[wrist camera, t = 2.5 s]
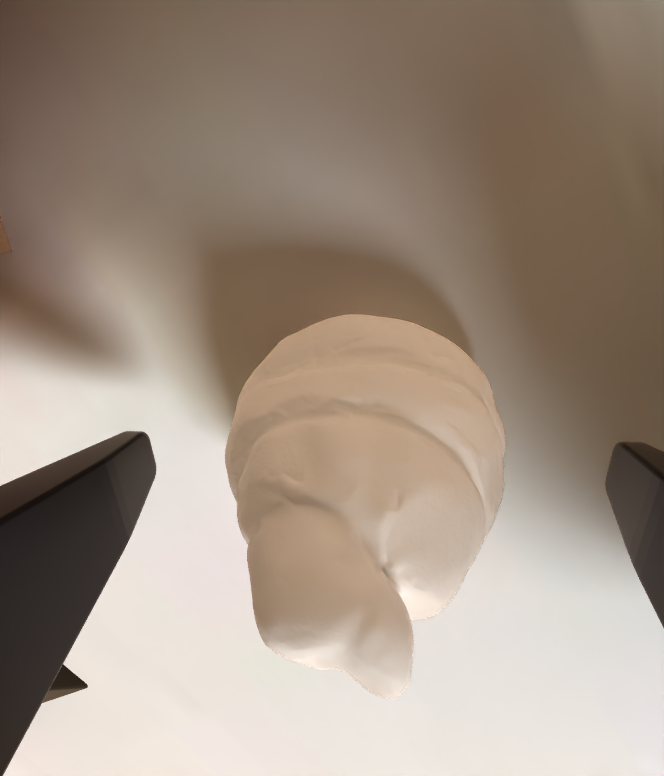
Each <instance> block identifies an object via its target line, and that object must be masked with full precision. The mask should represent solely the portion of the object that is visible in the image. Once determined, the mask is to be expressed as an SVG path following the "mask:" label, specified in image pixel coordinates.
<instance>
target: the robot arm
mask: <svg viewBox="0 0 664 776" xmlns="http://www.w3.org/2000/svg"><path fill="white" fill-rule="evenodd" d="M155 475H156V463H155V459H154V455H153V451H152V447H151V443H150V439H149V436H148V435H147V434H146V433H145V432H141V431H126V432H123V433H120V434H118V435H116V436H113V437H111V438H109V439H107V440H104V441H102V442H100V443H97V444H95V445H93V446H91V447H88V448H86V449H84V450H81V451H79V452H77V453H75V454H72V455H70V456H68V457H65V458H63V459H61V460H58V461H56V462H54V463H52V464H49V465H47V466H45V467H42V468H40V469H38V470H36V471H33V472H31V473H29V474H26V475H24V476H22V477H20V478H17V479H15V480H13V481H10V482H8V483H6V484H4V485H1V486H0V776H3V774H4V773H5V771H6V769H7V767H8V765H9V763H10V761H11V760H12V758H13V756H14V754H15V752H16V750H17V748H18V747H19V745H20V743H21V741H22V739H23V737H24V735H25V734H26V732H27V730H28V728H29V726H30V724H31V722H32V720H33V719H34V717H35V715H36V713H37V711H38V709H39V707H40V706H41V704H42V702H43V700H44V698H45V696H46V694H47V693H48V691H49V689H50V687H51V685H52V683H53V681H54V680H55V678H56V676H57V674H58V672H59V670H60V668H61V667H62V665H63V663H64V661H65V659H66V657H67V655H68V654H69V652H70V650H71V648H72V646H73V644H74V642H75V640H76V639H77V637H78V635H79V633H80V631H81V629H82V627H83V626H84V624H85V622H86V620H87V618H88V616H89V614H90V613H91V611H92V609H93V607H94V605H95V603H96V601H97V600H98V598H99V596H100V594H101V592H102V590H103V588H104V587H105V585H106V583H107V581H108V579H109V577H110V575H111V574H112V572H113V570H114V568H115V566H116V564H117V562H118V560H119V559H120V557H121V555H122V553H123V551H124V549H125V547H126V545H127V543H128V541H129V539H130V537H131V535H132V532H133V530H134V528H135V525H136V523H137V520H138V518H139V516H140V513H141V511H142V508H143V506H144V503H145V501H146V498H147V496H148V493H149V491H150V488H151V486H152V483H153V481H154V479H155ZM605 485H606V491H607V495H608V497H609V500H610V503H611V506H612V509H613V511H614V514H615V517H616V520H617V523H618V525H619V528H620V531H621V534H622V537H623V540H624V542H625V545H626V548H627V551H628V554H629V556H630V559H631V561H632V564H633V566H634V568H635V570H636V573H637V575H638V577H639V579H640V581H641V583H642V585H643V587H644V589H645V591H646V593H647V595H648V597H649V599H650V601H651V603H652V605H653V607H654V609H655V611H656V613H657V616H658V618H659V620H660V622H661V624H662V626H663V628H664V452H663V451H660V450H658V449H656V448H654V447H652V446H650V445H648V444H646V443H642V442H619V443H617V444H616V445H615V447H614V449H613V453H612V456H611V460H610V464H609V468H608V472H607V476H606V482H605Z"/></svg>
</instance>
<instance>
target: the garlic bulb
mask: <svg viewBox="0 0 664 776" xmlns="http://www.w3.org/2000/svg"><path fill="white" fill-rule="evenodd" d="M505 448H506V438H505V432H504V428H503V424H502V421H501V418H500V416H499V414H498V412H497V410H496V407H495V402H494V397H493V392H492V389H491V386H490V384H489V382H488V380H487V378H486V376H485V374H484V373H483V372H482V370H481V369H480V368H479V367H478V366H477V365H476V364H475V362H474V361H473V360H472V359H471V358H470V357H469V356H468V355H467V354H466V353H465V352H464V351H463V350H462V349H461V348H459V347H458V346H457V345H456V344H454V343H453V342H451V341H450V340H448V339H447V338H445V337H443V336H441V335H439V334H437V333H435V332H433V331H431V330H429V329H427V328H424V327H422V326H420V325H418V324H415V323H412V322H409V321H404V320H400V319H395V318H389V317H379V316H372V315H363V314H347V315H340V316H336V317H332V318H328V319H326V320H323V321H320V322H317V323H315V324H312V325H310V326H308V327H306V328H305V329H302V330H300V331H298V332H296V333H294V334H291V335H289V336H287V337H286V338H284V339H283V340H281V341H280V342H279V343H278V344H277V345H276V346H275V347H274V348H273V350H272V351H271V352H270V353H269V354H268V355H267V357H266V358H265V359H264V360H263V361H262V362H261V363H260V364H259V365H258V366H257V368H256V369H255V370H254V371H253V373H252V374H251V375H250V377H249V378H248V380H247V381H246V383H245V385H244V386H243V388H242V390H241V392H240V395H239V398H238V401H237V405H236V411H235V414H234V418H233V422H232V426H231V430H230V434H229V437H228V440H227V444H226V450H225V463H226V469H227V474H228V479H229V483H230V487H231V490H232V493H233V495H234V497H235V500H236V502H237V517H238V523H239V527H240V530H241V532H242V535H243V537H244V539H245V541H246V543H247V544H248V549H247V561H248V568H249V573H250V582H251V589H252V599H253V609H254V615H255V620H256V624H257V627H258V630H259V633H260V635H261V638H262V639H263V642H264V643H265V645H266V646H267V647H269V648H270V649H271V650H272V651H274V652H275V653H277V654H279V655H280V656H282V657H284V658H286V659H288V660H290V661H292V662H296V663H301V664H304V665H307V666H309V667H311V668H313V669H316V670H326V669H334V670H339V671H342V672H345V673H347V674H349V675H350V676H351V677H352V678H353V679H355V680H356V681H357V682H358V683H359V684H360V685H361V686H362V687H364V688H365V689H366V690H368V691H369V692H371V693H373V694H375V695H376V696H379V697H382V698H385V699H396V698H398V697H399V696H400V695H401V694H402V693H403V691H404V690H405V689H406V688H407V686H408V685H409V682H410V678H411V672H412V660H413V646H414V640H413V631H412V625H411V621H410V620H418V619H427V618H430V617H432V616H434V615H436V614H437V613H439V612H440V611H441V610H442V609H444V608H445V607H446V606H447V605H448V604H449V603H450V601H451V600H452V599H453V597H454V596H455V595H456V593H457V591H458V589H459V588H460V586H461V584H462V582H463V580H464V578H465V576H466V573H467V571H468V570H469V568H470V566H471V565H472V563H473V562H474V560H475V558H476V556H477V554H478V552H479V550H480V548H481V546H482V544H483V541H484V538H485V537H486V535H487V534H488V533H489V531H490V529H491V527H492V525H493V522H494V519H495V516H496V513H497V511H498V508H499V505H500V503H501V500H502V495H503V490H504V458H503V454H504V452H505Z"/></svg>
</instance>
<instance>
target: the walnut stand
mask: <svg viewBox="0 0 664 776" xmlns="http://www.w3.org/2000/svg"><path fill="white" fill-rule="evenodd" d="M8 252H11V248H10V245H9V242H8V239H7V236H6V233H5V230H4V227H3V224H2V221H1V218H0V254H4V253H8Z"/></svg>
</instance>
